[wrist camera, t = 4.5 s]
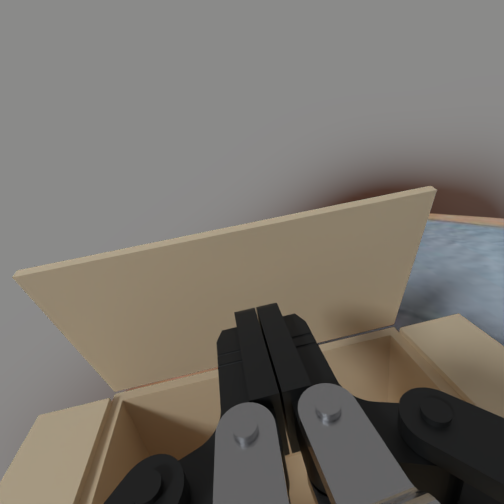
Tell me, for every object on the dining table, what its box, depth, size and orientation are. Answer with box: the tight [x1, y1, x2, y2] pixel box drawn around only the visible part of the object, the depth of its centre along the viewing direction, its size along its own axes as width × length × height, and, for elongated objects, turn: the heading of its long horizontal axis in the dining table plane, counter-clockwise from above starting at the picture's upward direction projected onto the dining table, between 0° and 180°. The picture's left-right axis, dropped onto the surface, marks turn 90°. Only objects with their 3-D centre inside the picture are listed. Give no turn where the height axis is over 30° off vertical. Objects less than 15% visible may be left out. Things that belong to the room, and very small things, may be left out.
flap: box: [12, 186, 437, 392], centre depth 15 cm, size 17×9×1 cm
